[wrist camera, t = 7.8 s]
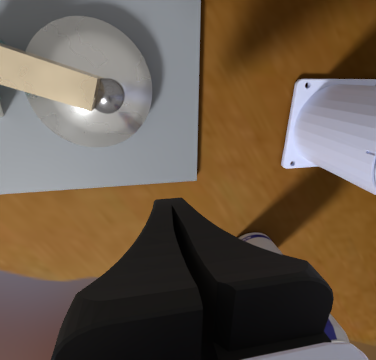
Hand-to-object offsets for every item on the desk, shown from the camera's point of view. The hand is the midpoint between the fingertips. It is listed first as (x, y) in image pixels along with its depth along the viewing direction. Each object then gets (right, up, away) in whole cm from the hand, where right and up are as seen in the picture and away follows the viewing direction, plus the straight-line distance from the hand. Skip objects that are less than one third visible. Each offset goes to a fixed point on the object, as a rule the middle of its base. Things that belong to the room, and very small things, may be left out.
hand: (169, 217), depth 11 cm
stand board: (-6, +8, +7) cm, 12 cm away
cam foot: (-7, +9, +5) cm, 12 cm away
